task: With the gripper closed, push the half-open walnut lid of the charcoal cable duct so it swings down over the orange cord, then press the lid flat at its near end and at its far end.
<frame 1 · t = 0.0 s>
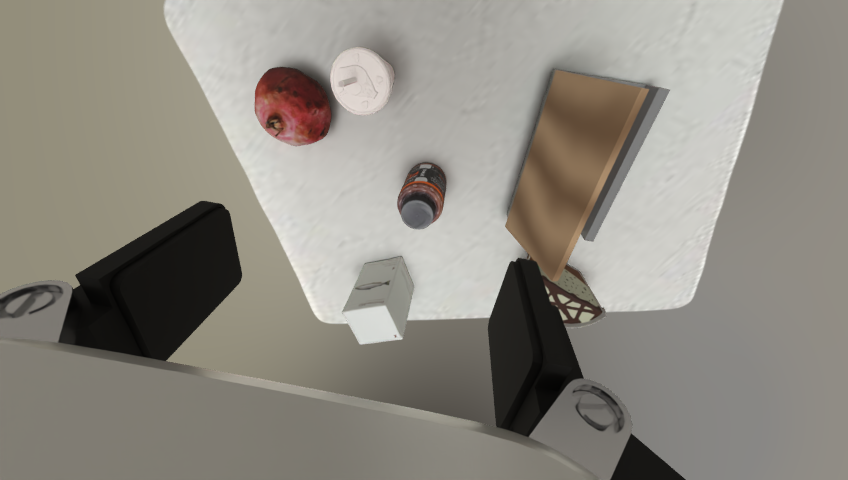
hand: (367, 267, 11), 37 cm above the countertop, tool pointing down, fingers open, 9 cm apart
cable duct: (570, 157, 44), on the countertop
smoothie: (381, 75, 41), on the countertop
fruit: (307, 103, 44), on the countertop
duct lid: (556, 177, 36), point 10 cm above the countertop, hinge at 70.0°
food container: (544, 269, 54), on the countertop
supplement box: (389, 274, 58), on the countertop
supplement bottle: (426, 180, 48), on the countertop
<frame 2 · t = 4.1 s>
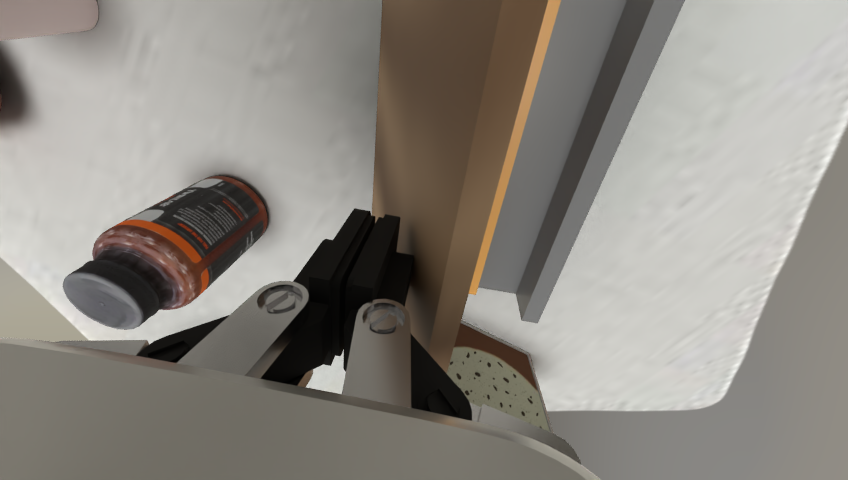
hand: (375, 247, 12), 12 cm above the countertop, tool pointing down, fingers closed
cable duct: (485, 162, 22), on the countertop
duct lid: (402, 218, 14), point 10 cm above the countertop, hinge at 68.5°, touching gripper
food container: (471, 349, 32), on the countertop
supplement bottle: (236, 207, 26), on the countertop
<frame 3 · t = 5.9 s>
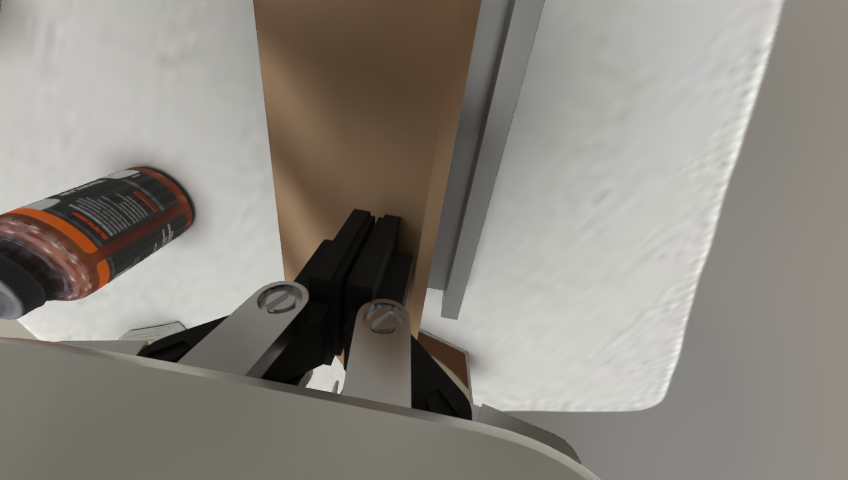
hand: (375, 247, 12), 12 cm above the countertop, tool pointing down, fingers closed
cable duct: (399, 156, 22), on the countertop
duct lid: (334, 201, 15), point 8 cm above the countertop, hinge at 39.6°, touching gripper
food container: (410, 347, 32), on the countertop
supplement box: (176, 346, 36), on the countertop
supplement bottle: (162, 199, 26), on the countertop
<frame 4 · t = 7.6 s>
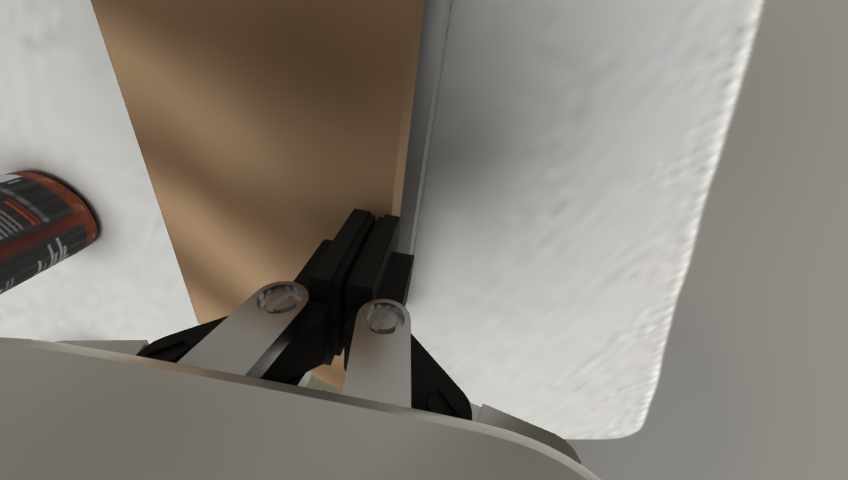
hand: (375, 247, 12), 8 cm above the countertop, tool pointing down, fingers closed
cable duct: (321, 159, 18), on the countertop
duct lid: (262, 200, 13), point 6 cm above the countertop, hinge at 14.2°, touching gripper
food container: (361, 370, 28), on the countertop
supplement bottle: (61, 208, 22), on the countertop
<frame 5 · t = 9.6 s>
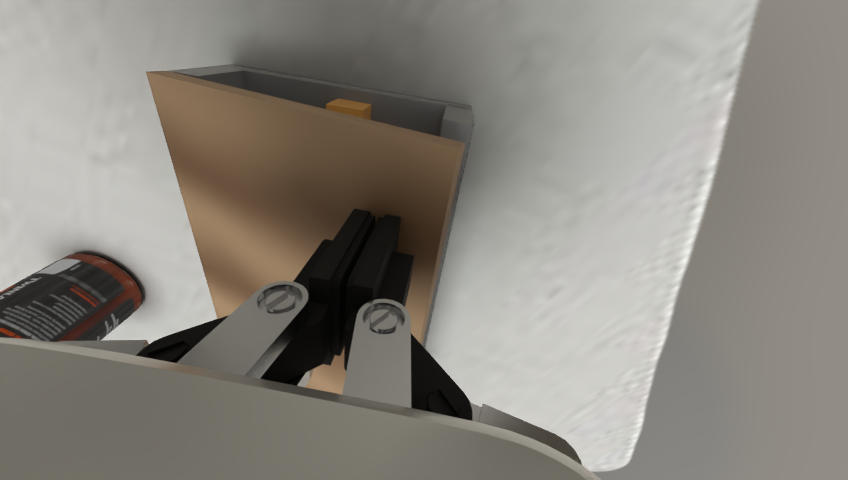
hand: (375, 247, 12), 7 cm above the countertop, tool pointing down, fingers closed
cable duct: (347, 251, 21), on the countertop
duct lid: (307, 314, 16), point 6 cm above the countertop, hinge at 14.0°, touching gripper
supplement bottle: (110, 279, 25), on the countertop
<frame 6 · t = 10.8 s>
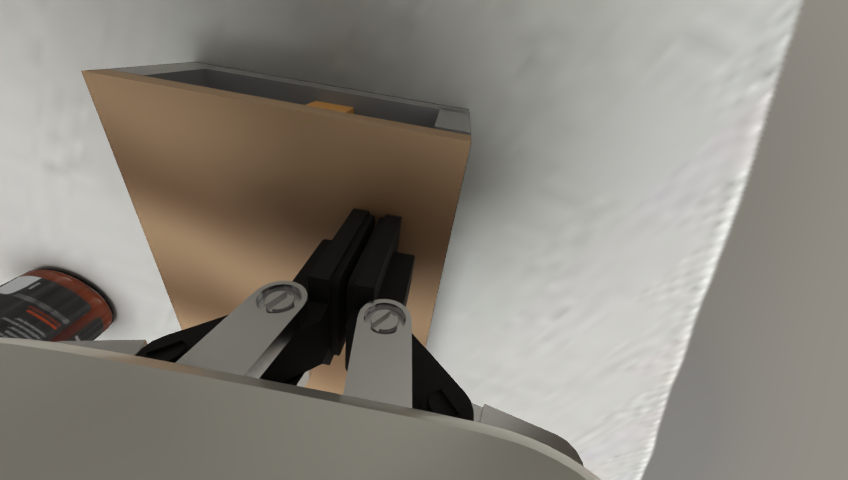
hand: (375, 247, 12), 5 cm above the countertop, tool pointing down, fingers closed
cable duct: (333, 268, 19), on the countertop
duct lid: (300, 326, 15), point 5 cm above the countertop, hinge at 1.7°, touching gripper
supplement bottle: (77, 296, 23), on the countertop
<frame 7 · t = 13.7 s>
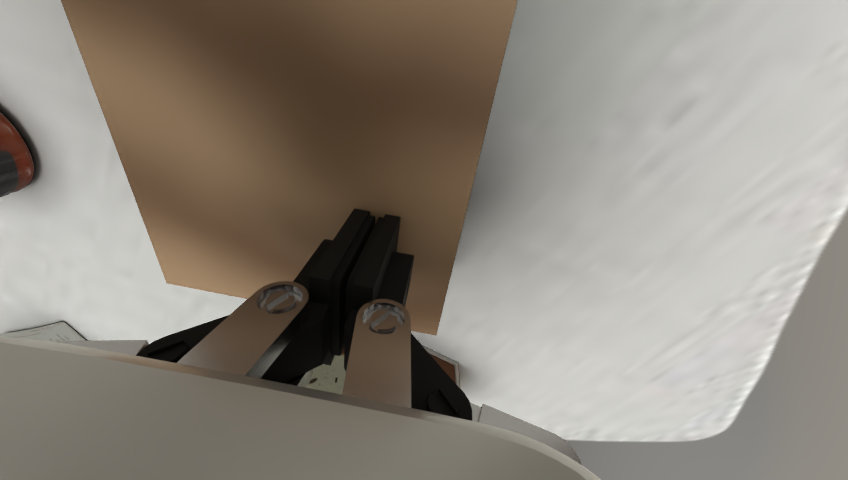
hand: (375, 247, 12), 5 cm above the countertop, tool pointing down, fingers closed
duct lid: (283, 39, 9), point 4 cm above the countertop, hinge at 0.7°, touching gripper
food container: (379, 356, 23), on the countertop
supplement box: (72, 353, 27), on the countertop
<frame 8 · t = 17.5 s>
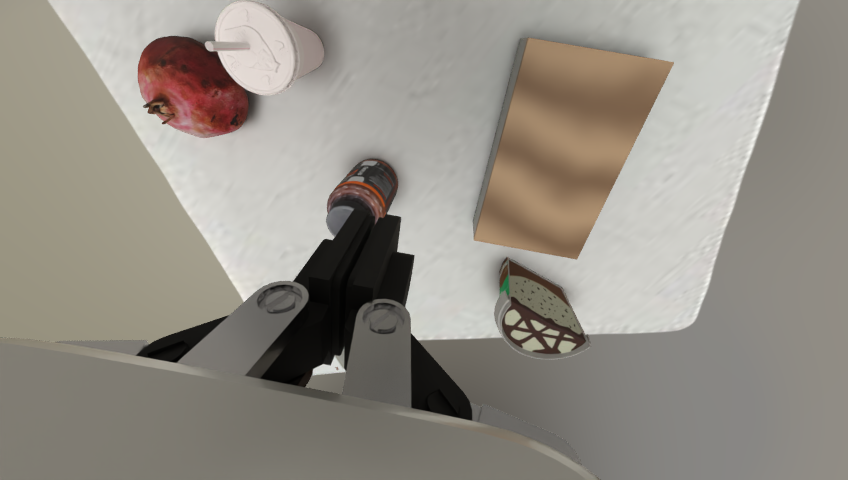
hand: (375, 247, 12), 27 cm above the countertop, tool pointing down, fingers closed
cable duct: (546, 152, 36), on the countertop
smoothie: (307, 49, 33), on the countertop
fruit: (223, 85, 36), on the countertop
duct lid: (555, 165, 32), point 4 cm above the countertop, hinge at 0.5°
food container: (520, 285, 46), on the countertop
supplement box: (342, 289, 50), on the countertop
supplement bottle: (375, 180, 40), on the countertop
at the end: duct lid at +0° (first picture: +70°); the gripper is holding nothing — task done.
